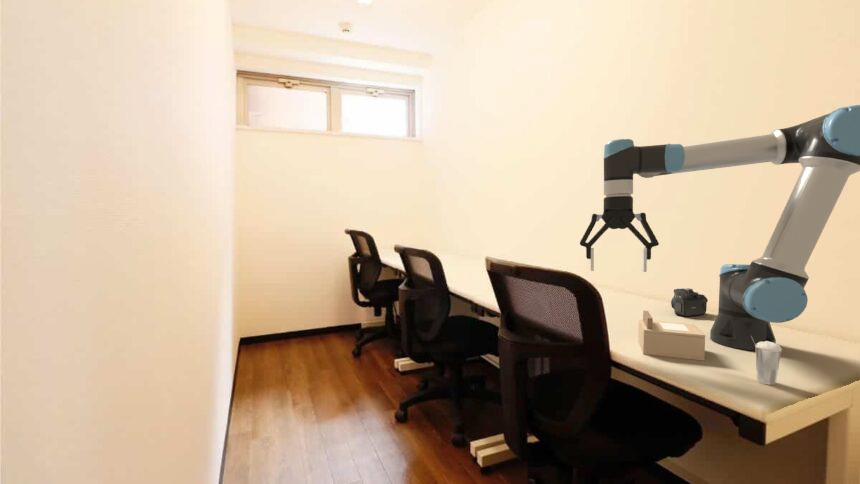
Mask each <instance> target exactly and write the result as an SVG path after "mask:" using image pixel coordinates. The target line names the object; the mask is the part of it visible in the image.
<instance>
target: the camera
mask: <svg viewBox="0 0 860 484" xmlns="http://www.w3.org/2000/svg"><path fill="white" fill-rule="evenodd" d="M673 294H674V295H673V297H672V298H671V300H670V301H671V302H670V305H671V308H672V309H673V310H674V314H675V315H677V316H681V317H692V316H693V317H694V316H701V315H705V314H706V312H707V306H708V304H707V303H708V301H709V300H708V298H707V297H706V296H705V295H704V294H700V293H699V292H697V291H694V290H693V288H675V289H673Z"/></svg>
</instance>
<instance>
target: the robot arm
mask: <svg viewBox="0 0 860 484" xmlns="http://www.w3.org/2000/svg"><path fill="white" fill-rule="evenodd" d="M603 151H604V152H603V196H605V197H604V198H603V212H602V214H598V213H592V214H591V218H590V219H591V220H590V223H589V225H588V227H587V229H586V230H585V232H584V234H583V236H582V237H581V239H580V240H579V241H580V242H579V245H580V246H581V247H584V248H585V249H586V250H585V252H586V254H585V256H586V259H587V260H589V262H590V263H589V264H590V267H589V269H590V272H593V271H594V270H595V268H594V267H595V265H594V264H595V262H594V261H595V260H594V259H595V258H594V256H595V255H594V254H595V252H594V251H595V249H594V248H595V247H593V245H594V244H595V243H596V242H597V241H598V240H599V239H600V237H601V236H602V235H603V234H604V233H605V232H606V231H608V229H611V230H617V229H620V230H625V229H627V230H629V231H630V232H631V233H632V234H633V235H634V236H635V237H636V238H637V239H638V240H639V241H640V243H642V245H643V246H644V247H641V271H642V272H644V273H647V268H648V266H647V264H648V260H651V258H652V248H653V247H658V246H659V244H660V243H659V241H658V239H657V237H656V236H655V234H654V231H653V230H652V228H651V227H650V224H649V222H648V221H647V215H646V213H645V212H639V213H634V208H633V207H634V197H633V196H632V195H633V194H634V175H638V177H641V178H644V179H651V178H654V177H659V176H666V175H673V174H682V173H690V172H697V171H706V170H716V169H723V168H731V167H732V168H733V167H738V166H739V167H740V166H745V165H746V166H748V165H755V164H762V163H763V164H764V163H771V164H773V165H776V166H777V165H778V166H779V165H784V164H800V165H801V166H802V169H801V171H800V174H799V176H798V178H797V179H796V182H795V184H794V186H793V189H792V191H791V193H790V195H789V198H788V200H787V202H786V204H785V206H784V208H783V211H782V212H781V214H780V217H779V219H778V220H777V221H778V222H777V223H776V226H774V227H775V228H774V230H773V231H772V234H771V236H770V239H769V240H768V243H767V245H766V247H765V249H764V252H762V253H763V254H762V255H761V257H759V258H756V259H754V260H751V262H750V264H739V263H738V264H736V263H735V264H723V265H721V267H720V270H719V271H720V272H719V274H718V277H719V287H718V288H719V290H718V293H719V294H718V310H717V311H718V313H717V316H716V318H715V319H714V322H713V324H712V327H711V329H710V333H709V339H710V340H711V341H713V342H714V343H717V344H719V345H722V346H725V347H730V348H734V349H735V348H736V349H738V350H739V349H740V350H747V351H755V352H756V349H755V345H756V344H757V343H758V342H765V341H769V342H773V343H775V344H777V343H776V342H777V341H776V340H777V339H776V337H775V334H774V331H773V328H772V325H771V323H775V324H777V323H778V324H780V323H786V322H790V321H793V320H795V319H797V318H798V317H799V316H801V315H802V314H803V313H804V312H805V310H806V308H807V305H808V301H809V300H808V298H809V297H808V295H807V292H806V290H805V287H806V285H807V283H808V280H809V279H810V278H809V276H808V274H807V272H806V271H805V269H806V266H807V264H808V263H809V260H810V258H811V256H812V253H813V252H814V250H815V248H816V245H817V243H818V241H819V239H820V237H821V235H822V233H823V231H824V229H825V227H826V224H827V223H828V220H829V219H830V217H831V214H832V213H833V211H834V208H835V206H836V204H837V202H838V200H839V198H840V196H841V194H842V191H843V189H844V188H845V185H846V183H847V181H848V179H849V177H850V176H852V175H854V174H856V173H858V172H860V104H854V105H849V106H843V107H841V108H837V109H834V110H833V111H832V112H830V113H828V114H824V115H821V116H819V117H815V118H813V119H811V120H807V121H806V122H802V123H800V124H797V125H796V124H795V125H794V126H790V127H786V128H780V129H779V128H778V129H774V130H773V131H772V132H771V133H770V134H763V135H758V136H757V135H756V136H755V135H754V136H750V137H744V138H743V137H742V138H736V139H735V138H734V139H729V140H721V141H715V142H709V143H708V142H707V143H701V144H694V145H688V146H683V145H682V144H680V143H666V144H656V145H642V146H637V145H636V146H635V143H634V140H633V139H632V138H631V139H630V138H621V139H619V138H618V139H614V140H613V139H612V140H609V141H607V142H606V143H605V144H604V149H603ZM601 219H602V221H603V222H604V224H603V225H602V226H601V228H600V229H599V230H598V231H597V232H596V233H595V234H594V235H593V237H592V238H591V239H590V240H589V241H587V240H588V238H590V237H589V236H590V235H591V233H592V231H593V230H594V227H595V225H596V223H597V222H599V221H600V220H601ZM634 219H636V220H637V221H638V222H640V224H641V226H642V228H643V229H644V232H645V233H646V235H647V237H648V238H649V241H650V242H649V241H648V240H647V239H646V238H645V236H643V235H642V233H640V231H639V230H638V229H637V228H636V227H635V225H634V224H632V222H633V221H634ZM751 336H752V337H751ZM752 338H753V339H752ZM753 340H754V341H753ZM754 342H755V344H754Z"/></svg>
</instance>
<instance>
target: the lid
mask: <svg viewBox="0 0 860 484" xmlns="http://www.w3.org/2000/svg"><path fill="white" fill-rule="evenodd" d="M639 323H640V325H641V327H642V329H643V331H644V332H650V333H662V334H673V335H684V336H695V337H705V338H706V334H705V333H704V332H703V331H702V330H701V329H700V328H699V327H698V326H697V325H696V324H695V323H685V322H684V323H683V322H675V321H674V322H673V321H672V322H671V321H660V320H653V316H652V315H651V314H650V312H649V310H643V311H642V319H638V324H639Z"/></svg>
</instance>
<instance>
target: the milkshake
mask: <svg viewBox="0 0 860 484" xmlns="http://www.w3.org/2000/svg"><path fill="white" fill-rule="evenodd" d="M751 337H752V336H751ZM752 339H753V338H752ZM753 341H754V340H753ZM754 344H755V342H754ZM755 349H756V351H755V362H756V366H755V367H756V381H758V382H759V383H760V384H763V385H769V386H775V385H777V380H778V374H779V367H780V362H781V357H782V351H783V348H782V347H781V346H780V345H779V344H777V343H776V344H775V343H773V342H769V341H765V342H758V343H757V344H756V345H755Z"/></svg>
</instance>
